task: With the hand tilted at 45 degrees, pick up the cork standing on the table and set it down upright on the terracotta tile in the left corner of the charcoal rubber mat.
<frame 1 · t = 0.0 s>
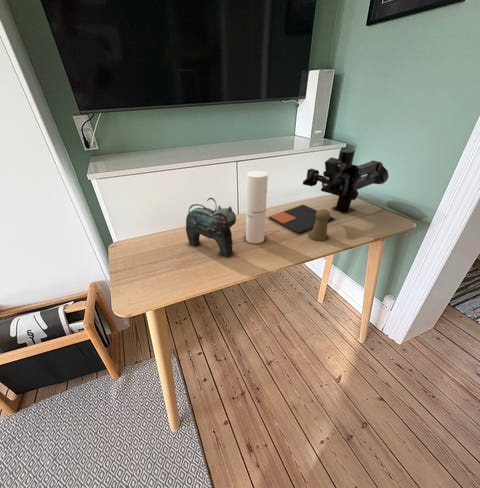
hand: (312, 186, 100), 17 cm above the table, tool horizontal, fingers open, 9 cm apart
rubber mat: (300, 218, 114), on the table
ceramic cat: (210, 249, 95), on the table
cork: (318, 237, 102), on the table
cylindrical container: (255, 239, 101), on the table
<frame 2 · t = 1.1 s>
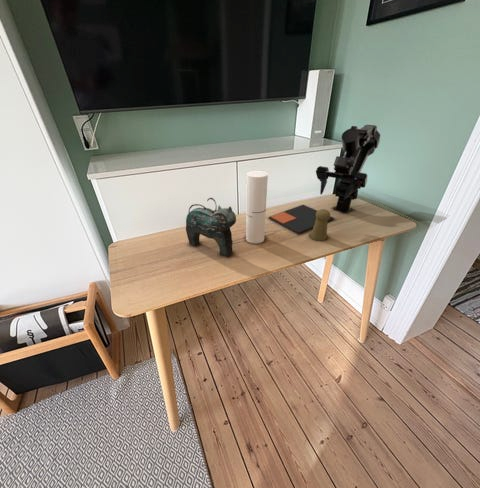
hand: (332, 196, 99), 14 cm above the table, tool tilted 45°, fingers open, 9 cm apart
nothing on the table moved.
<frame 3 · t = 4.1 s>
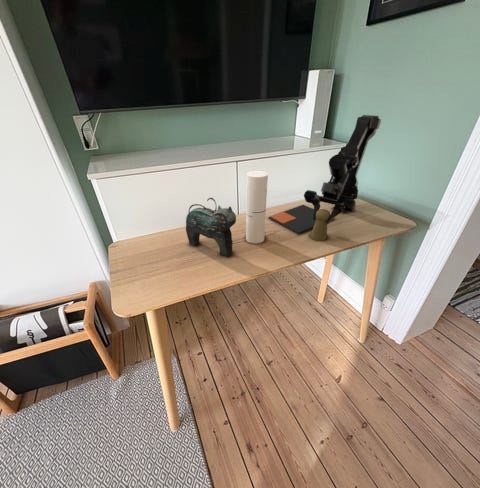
hand: (320, 221, 97), 7 cm above the table, tool tilted 45°, fingers closed on cork, 5 cm apart
cork: (318, 237, 102), on the table, touching gripper
everything else where it was.
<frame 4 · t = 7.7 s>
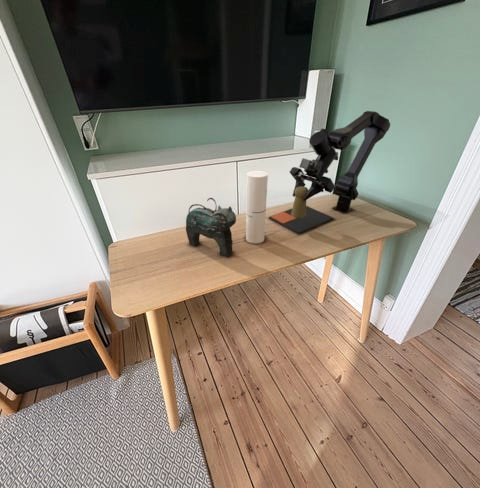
hand: (298, 198, 99), 13 cm above the table, tool tilted 45°, fingers closed on cork, 5 cm apart
cork: (298, 214, 104), point 6 cm above the table, touching gripper
everything else where it was.
when the fingers open (8 cm above the table, at t = 11.1 s): cork stays where it is, resting on rubber mat.
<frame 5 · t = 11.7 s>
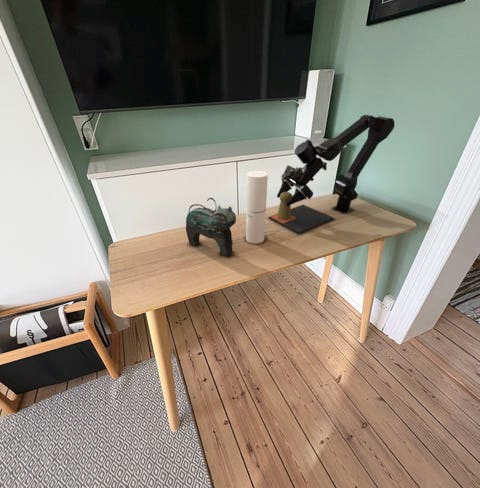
hand: (282, 201, 108), 9 cm above the table, tool tilted 45°, fingers open, 9 cm apart
cork: (283, 217, 114), point 1 cm above the table, touching rubber mat
everything else where it was.
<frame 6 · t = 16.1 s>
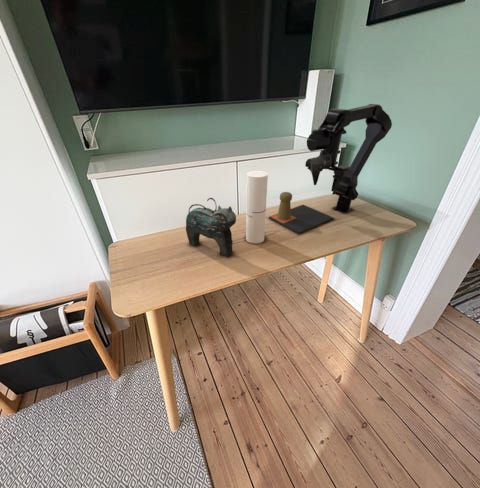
hand: (323, 187, 108), 13 cm above the table, tool pointing down, fingers open, 9 cm apart
nothing on the table moved.
at the end: cork 0.1 cm from the target spot, point 0.8 cm above the table; cork tilted 0°; the gripper is holding nothing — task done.
